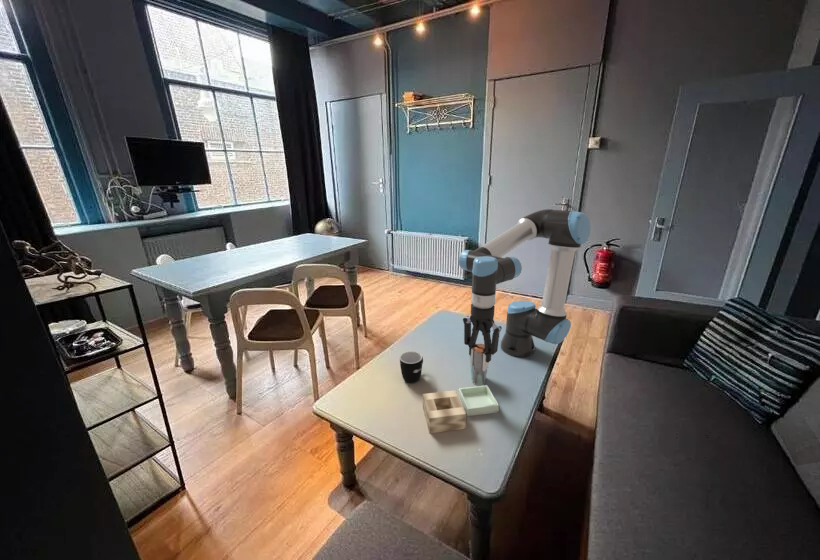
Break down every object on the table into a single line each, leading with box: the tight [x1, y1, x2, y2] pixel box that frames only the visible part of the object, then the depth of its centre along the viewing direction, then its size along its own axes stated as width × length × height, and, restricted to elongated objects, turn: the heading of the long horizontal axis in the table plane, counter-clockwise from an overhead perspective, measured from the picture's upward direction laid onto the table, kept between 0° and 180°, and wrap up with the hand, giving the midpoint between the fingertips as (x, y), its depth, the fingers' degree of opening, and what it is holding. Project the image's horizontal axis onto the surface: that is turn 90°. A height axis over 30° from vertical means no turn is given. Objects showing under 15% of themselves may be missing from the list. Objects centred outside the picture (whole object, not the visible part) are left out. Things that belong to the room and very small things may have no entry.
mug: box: [399, 351, 424, 384], centre depth 132 cm, size 12×9×10 cm
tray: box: [457, 384, 500, 417], centre depth 118 cm, size 11×11×3 cm
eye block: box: [422, 389, 467, 434], centre depth 111 cm, size 12×12×6 cm
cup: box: [469, 355, 488, 382], centre depth 130 cm, size 8×8×10 cm
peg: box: [472, 343, 485, 386], centre depth 113 cm, size 4×4×14 cm
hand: (479, 366), depth 113 cm, fingers closed on peg, 4 cm apart
